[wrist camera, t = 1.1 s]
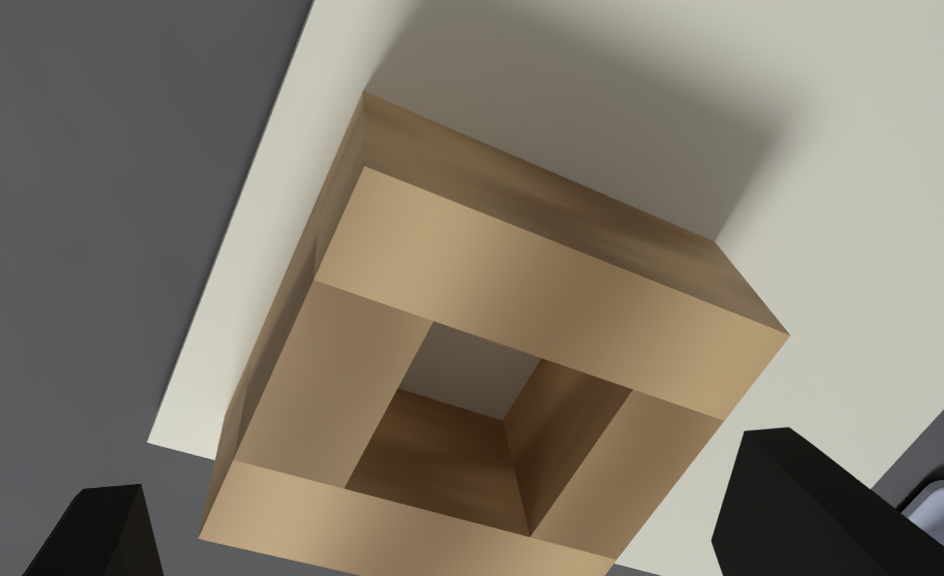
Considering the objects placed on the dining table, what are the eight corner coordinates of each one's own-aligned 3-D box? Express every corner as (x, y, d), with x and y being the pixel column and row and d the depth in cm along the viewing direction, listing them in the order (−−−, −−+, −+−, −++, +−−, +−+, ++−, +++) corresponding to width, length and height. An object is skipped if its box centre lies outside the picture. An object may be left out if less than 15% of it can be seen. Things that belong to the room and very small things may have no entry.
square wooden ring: (714, 241, 20) (790, 335, 16) (537, 501, 23) (568, 622, 20) (362, 90, 17) (364, 165, 13) (224, 415, 20) (198, 538, 17)
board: (1233, 28, 20) (1281, 41, 19) (750, 572, 28) (766, 602, 27) (500, -496, 13) (512, -520, 12) (156, 412, 22) (147, 442, 21)
